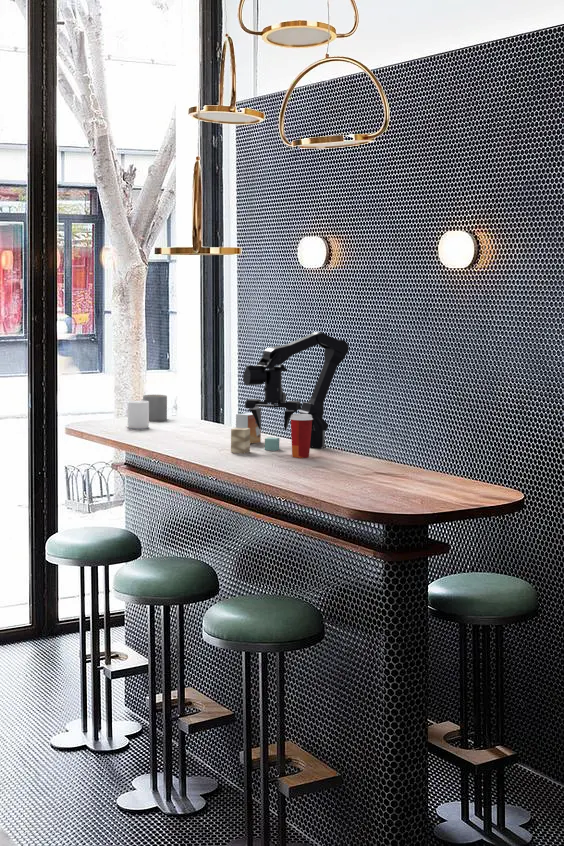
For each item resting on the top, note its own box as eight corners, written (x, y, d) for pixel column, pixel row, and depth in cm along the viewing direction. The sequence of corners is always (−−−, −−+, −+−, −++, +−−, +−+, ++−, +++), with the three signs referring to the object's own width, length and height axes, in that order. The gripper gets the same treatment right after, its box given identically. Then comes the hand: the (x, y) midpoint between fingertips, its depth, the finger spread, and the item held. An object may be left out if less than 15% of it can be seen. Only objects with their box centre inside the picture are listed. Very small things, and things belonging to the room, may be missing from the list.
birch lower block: (249, 451, 366) (249, 440, 366) (244, 453, 361) (244, 441, 361) (236, 450, 368) (236, 439, 367) (230, 452, 363) (230, 441, 362)
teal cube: (279, 449, 373) (279, 437, 372) (275, 450, 369) (275, 439, 369) (268, 448, 374) (268, 437, 374) (264, 450, 370) (264, 438, 370)
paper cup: (314, 455, 359) (315, 414, 357) (309, 459, 351) (309, 416, 350) (292, 454, 361) (292, 413, 359) (286, 457, 353) (286, 415, 352)
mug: (118, 426, 426) (118, 400, 425) (136, 424, 431) (136, 399, 430) (134, 429, 417) (134, 403, 416) (152, 428, 422) (152, 402, 421)
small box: (247, 444, 382) (247, 415, 381) (235, 443, 385) (235, 413, 384) (261, 442, 388) (261, 413, 387) (249, 440, 392) (249, 412, 390)
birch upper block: (249, 440, 366) (250, 428, 365) (244, 441, 361) (245, 430, 360) (236, 439, 367) (236, 427, 367) (231, 441, 362) (231, 429, 362)
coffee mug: (171, 420, 449) (171, 396, 448) (150, 421, 443) (150, 397, 442) (154, 416, 460) (154, 393, 458) (134, 418, 453) (134, 394, 452)
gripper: (306, 383, 374) (305, 428, 376) (255, 381, 379) (254, 425, 381) (296, 386, 363) (295, 432, 365) (244, 384, 369) (244, 429, 371)
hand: (272, 429), depth 371 cm, fingers open, 9 cm apart
